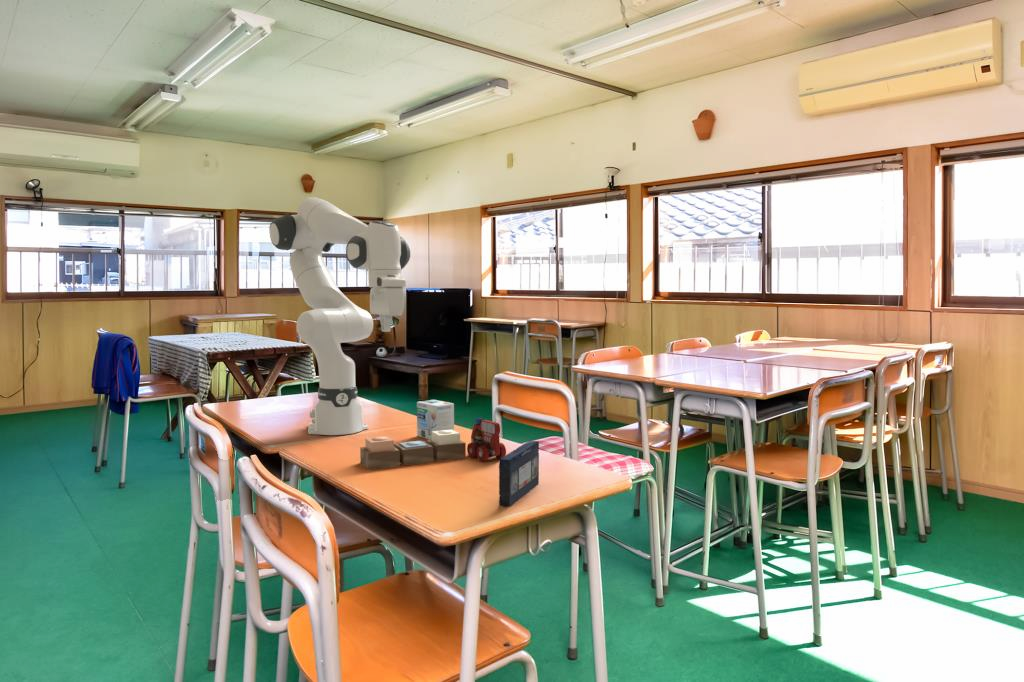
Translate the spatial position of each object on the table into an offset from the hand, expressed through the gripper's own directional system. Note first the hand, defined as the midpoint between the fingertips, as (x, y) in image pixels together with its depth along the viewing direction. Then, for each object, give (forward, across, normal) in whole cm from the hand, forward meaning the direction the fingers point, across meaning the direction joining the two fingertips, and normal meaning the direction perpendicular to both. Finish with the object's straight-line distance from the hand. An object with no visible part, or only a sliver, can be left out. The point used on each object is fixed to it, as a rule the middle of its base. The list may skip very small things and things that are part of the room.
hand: (386, 331), depth 186 cm
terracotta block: (+31, +13, -6) cm, 34 cm away
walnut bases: (+33, +13, +3) cm, 36 cm away
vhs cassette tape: (+34, +52, +14) cm, 64 cm away
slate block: (+33, +13, +3) cm, 35 cm away
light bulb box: (+33, -11, +18) cm, 39 cm away
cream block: (+31, +13, +12) cm, 35 cm away
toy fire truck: (+34, +19, +21) cm, 44 cm away
